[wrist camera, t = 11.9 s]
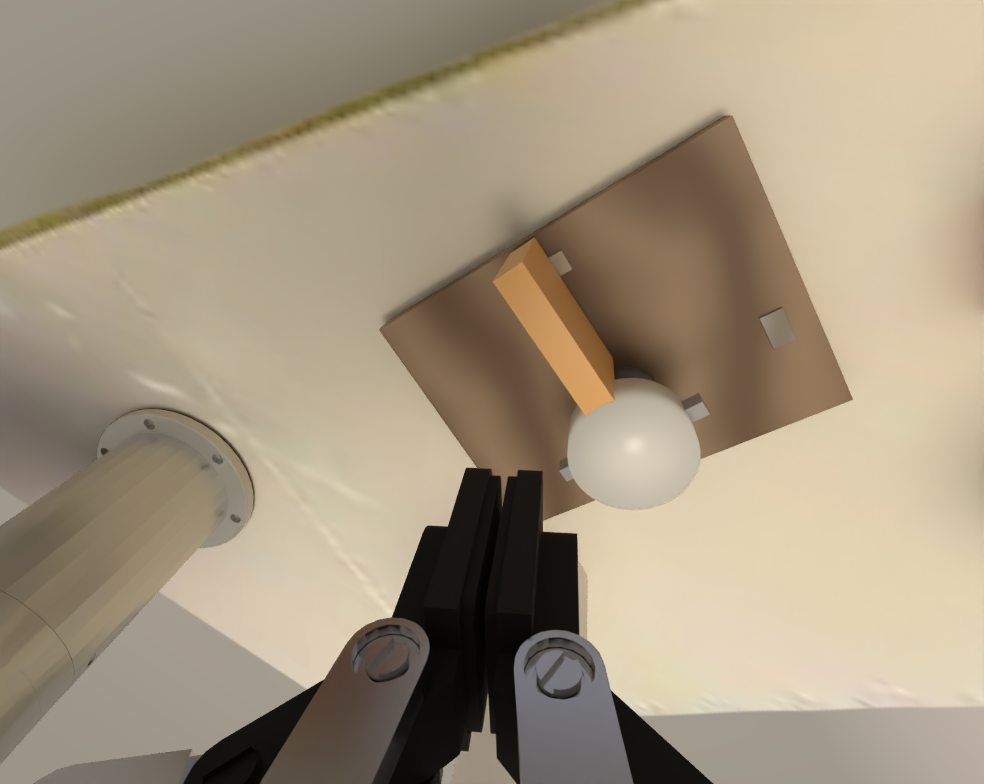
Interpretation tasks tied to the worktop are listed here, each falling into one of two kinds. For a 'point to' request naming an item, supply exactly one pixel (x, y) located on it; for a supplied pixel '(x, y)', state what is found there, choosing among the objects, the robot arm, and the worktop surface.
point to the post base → (635, 318)
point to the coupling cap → (603, 397)
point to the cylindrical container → (479, 770)
